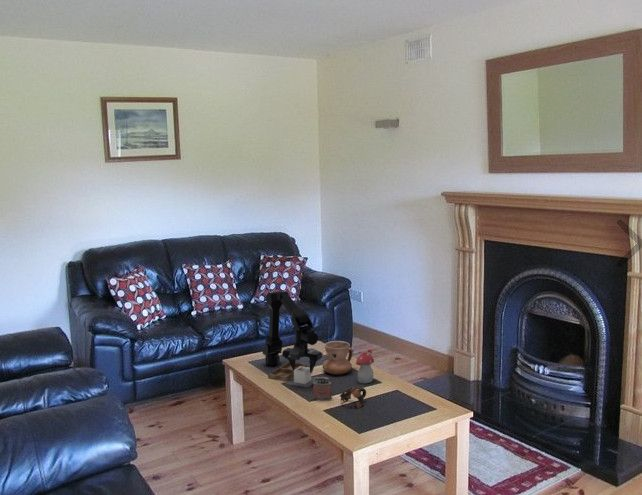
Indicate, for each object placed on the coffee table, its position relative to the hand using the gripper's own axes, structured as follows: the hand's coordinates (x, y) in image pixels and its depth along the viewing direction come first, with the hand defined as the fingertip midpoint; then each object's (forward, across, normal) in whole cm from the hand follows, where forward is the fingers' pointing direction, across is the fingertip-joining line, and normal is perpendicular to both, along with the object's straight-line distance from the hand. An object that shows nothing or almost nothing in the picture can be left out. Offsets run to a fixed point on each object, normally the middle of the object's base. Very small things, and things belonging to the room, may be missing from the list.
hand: (302, 371), depth 285 cm
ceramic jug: (+5, +10, +19) cm, 22 cm away
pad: (+5, 0, 0) cm, 5 cm away
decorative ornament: (+5, +27, +12) cm, 30 cm away
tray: (+5, -12, +7) cm, 15 cm away
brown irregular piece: (+5, +33, -14) cm, 36 cm away
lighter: (+5, +18, -15) cm, 24 cm away
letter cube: (+5, 0, 0) cm, 5 cm away
